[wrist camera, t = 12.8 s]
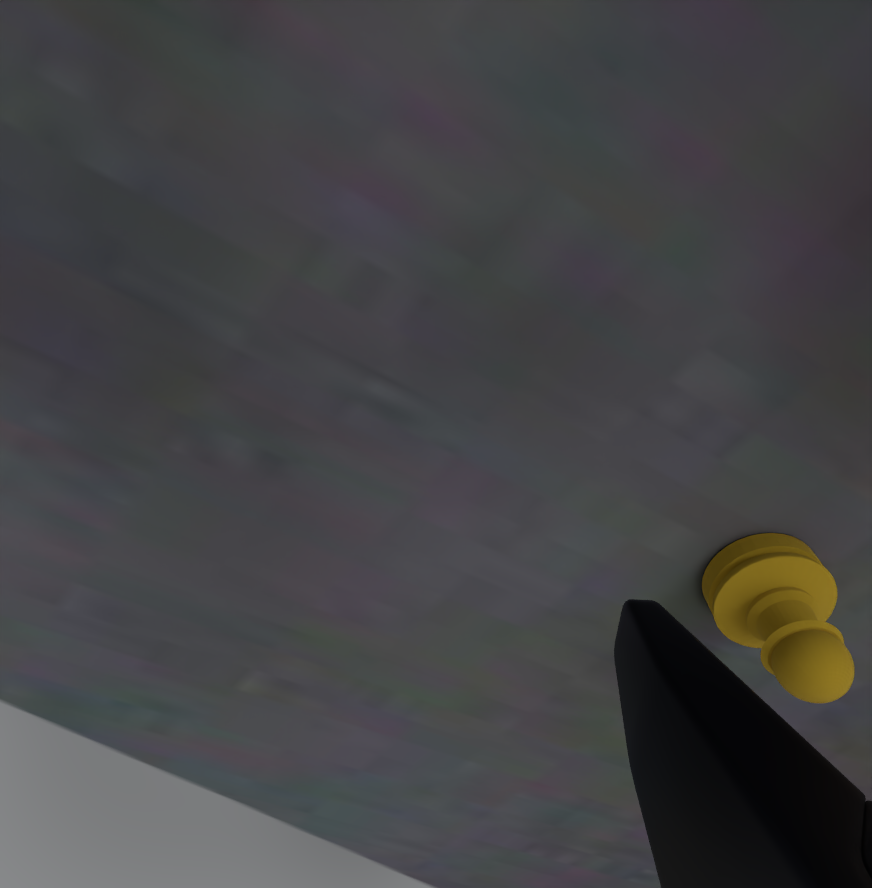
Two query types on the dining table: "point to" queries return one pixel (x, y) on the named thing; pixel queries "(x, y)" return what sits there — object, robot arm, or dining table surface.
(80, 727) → the dining table surface
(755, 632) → the chess piece
